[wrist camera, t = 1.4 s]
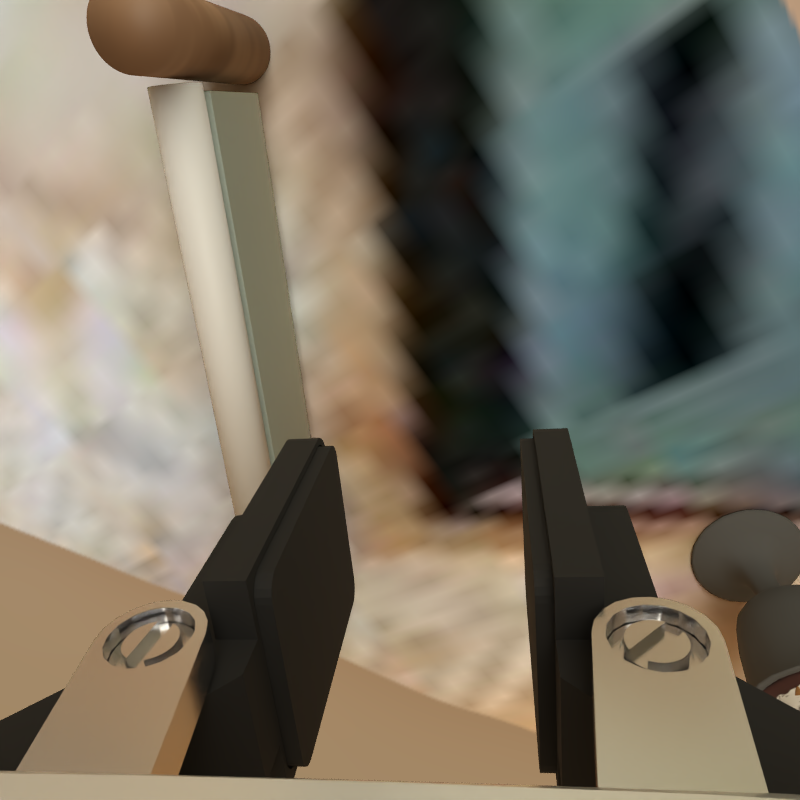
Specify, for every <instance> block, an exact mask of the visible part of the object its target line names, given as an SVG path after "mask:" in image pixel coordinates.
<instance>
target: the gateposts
mask: <svg viewBox="0 0 800 800" xmlns="http://www.w3.org/2000/svg"><path fill="white" fill-rule="evenodd" d="M87 27H88V32H89V35H90V39H91V41H92V43H93V45H94V47H95V49H96V51H97V52H98V54H99V55H100V56H101V58H102V59H103V60H104V61H105V62H106V63H107V64H108V65H110V66H111V67H112V68H114V69H116V70H117V71H119V72H122V73H124V74H128V75H135V76H147V77H158V78H170V79H182V80H193V81H205V82H216V83H228V84H240V85H243V84H249V83H252V82H254V81H256V80H257V79H259V78H260V77H261V76H262V75H263V73H264V72H265V70H266V69H267V66H268V63H269V60H270V45H269V41H268V37H267V35H266V33H265V31H264V30H263V28H262V27H261V26H260V25H259V24H258V23H257V22H256V21H255V20H254V19H252V18H250V17H248V16H245V15H243V14H240V13H237V12H235V11H232V10H229V9H227V8H224V7H221V6H219V5H216V4H213V3H211V2H208V1H205V0H89V3H88V8H87Z"/></svg>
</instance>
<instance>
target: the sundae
mask: <svg viewBox="0 0 800 800" xmlns="http://www.w3.org/2000/svg"><path fill="white" fill-rule="evenodd" d="M691 564H692V568H693V572H694V574H695V576H696V579H697V580H698V581H699V583H700V584H701V585H702V586H703V587H704V588H705V589H707V590H708V591H709V592H710V593H712V594H714V595H716V596H718V597H720V598H723V599H726V600H729V601H738V602H747V603H746V605H745V606H744V607H743V609H742V610H741V611H740V613H739V615H738V618H737V628H736V631H737V639H738V647H739V654H740V658H741V662H742V666H743V670H744V674H745V677H746V681H747V683H749V684H750V685H752V686H754V687H756V688H758V689H760V690H762V691H763V692H765V693H767V694H769V695H771V696H773V697H775V698H776V699H778V700H780V701H782V702H784V703H786V704H788V705H790V706H791V707H793V708H795V709H797V710H799V711H800V585H791V584H792V583H793V582H794V581H795V580H796V579H797V577H798V576H799V574H800V530H799V529H798V527H797V526H796V525H795V524H794V523H793V522H791V521H790V520H789V519H788V518H786V517H784V516H782V515H780V514H777V513H774V512H771V511H766V510H743V511H739V512H735V513H732V514H729V515H726V516H723V517H721V518H720V519H718V520H717V521H715V522H713V523H712V524H711V525H709V526H708V527H707V528H706V529H705V530H704V531H703V532H702V534H701V535H700V536H699V538H698V539H697V541H696V543H695V545H694V548H693V552H692V560H691Z"/></svg>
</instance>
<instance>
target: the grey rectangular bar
mask: <svg viewBox="0 0 800 800" xmlns="http://www.w3.org/2000/svg"><path fill="white" fill-rule="evenodd" d="M147 89H148V94H149V99H150V103H151V108H152V113H153V118H154V123H155V128H156V133H157V138H158V142H159V147H160V152H161V157H162V162H163V167H164V172H165V176H166V181H167V186H168V191H169V196H170V201H171V206H172V211H173V215H174V220H175V225H176V230H177V235H178V240H179V245H180V250H181V254H182V259H183V264H184V269H185V274H186V279H187V284H188V288H189V293H190V298H191V303H192V308H193V313H194V318H195V323H196V327H197V332H198V337H199V342H200V347H201V352H202V357H203V362H204V366H205V371H206V376H207V381H208V386H209V391H210V396H211V400H212V405H213V410H214V415H215V420H216V425H217V430H218V435H219V439H220V444H221V449H222V454H223V459H224V464H225V469H226V474H227V478H228V483H229V488H230V493H231V498H232V503H233V508H234V512H235V516H237V515H242V514H243V513H244V511H245V509H246V508H247V506H248V504H249V503H250V501H251V499H252V498H253V496H254V494H255V493H256V491H257V489H258V488H259V486H260V484H261V483H262V481H263V479H264V478H265V476H266V474H267V473H268V471H269V469H270V468H271V466H272V464H273V463H274V461H275V459H276V458H277V456H278V454H279V453H280V451H281V449H282V448H283V446H284V444H285V443H286V441H287V440H288V439H308V438H311V437H310V430H309V424H308V417H307V411H306V404H305V398H304V391H303V385H302V378H301V372H300V365H299V359H298V352H297V346H296V339H295V333H294V327H293V320H292V314H291V307H290V301H289V294H288V288H287V281H286V275H285V268H284V262H283V255H282V249H281V242H280V236H279V229H278V223H277V216H276V210H275V203H274V197H273V190H272V184H271V177H270V171H269V164H268V158H267V151H266V145H265V138H264V132H263V125H262V119H261V112H260V106H259V99H258V93H244V92H226V91H204V89H203V84H202V83H177V84H166V85H158V86H152V87H148V88H147Z"/></svg>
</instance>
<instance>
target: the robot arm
mask: <svg viewBox="0 0 800 800" xmlns="http://www.w3.org/2000/svg"><path fill="white" fill-rule="evenodd" d="M520 450H521V478H522V505H523V532H524V560H525V585H526V602H527V615H528V628H529V641H530V654H531V666H532V679H533V692H534V705H535V718H536V731H537V742H538V756H539V769H540V773H556V780H557V786H541V785H508V784H473V783H441V782H407V781H373V780H339V779H338V780H337V779H302V778H294V776H295V773H296V769H297V766H303V767H305V766H308V765H309V763H310V760H311V757H312V754H313V750H314V746H315V742H316V739H317V735H318V731H319V728H320V724H321V720H322V717H323V713H324V709H325V706H326V702H327V698H328V694H329V691H330V687H331V683H332V680H333V676H334V672H335V669H336V665H337V661H338V658H339V654H340V650H341V646H342V643H343V639H344V635H345V632H346V628H347V624H348V621H349V617H350V613H351V610H352V606H353V602H354V592H355V586H354V575H353V568H352V561H351V554H350V547H349V540H348V533H347V526H346V519H345V511H344V504H343V497H342V490H341V483H340V476H339V469H338V462H337V455H336V451H335V448H334V446H325V445H324V442H323V440H322V439H321V438H308V439H288V440H287V441H286V443H285V444H284V446H283V448H282V449H281V451H280V453H279V454H278V456H277V458H276V459H275V461H274V463H273V464H272V466H271V468H270V469H269V471H268V473H267V474H266V476H265V478H264V479H263V481H262V483H261V484H260V486H259V488H258V489H257V491H256V493H255V494H254V496H253V498H252V499H251V501H250V503H249V504H248V506H247V508H246V509H245V511H244V513H243V514H242V515H237V516H235V517H234V519H233V520H232V521H231V522H230V524H229V526H228V527H227V529H226V531H225V532H224V534H223V535H222V537H221V539H220V540H219V542H218V543H217V545H216V547H215V548H214V550H213V552H212V553H211V555H210V556H209V558H208V560H207V561H206V563H205V564H204V566H203V568H202V569H201V571H200V573H199V574H198V576H197V577H196V579H195V581H194V582H193V584H192V586H191V587H190V589H189V590H188V592H187V594H186V595H185V597H184V598H183V600H182V601H172V600H171V601H170V600H167V601H161V602H155V603H150V604H147V605H144V606H141V607H138V608H135V609H133V610H131V611H129V612H127V613H125V614H123V615H121V616H119V617H117V618H116V619H115V620H114V621H112V622H111V623H110V624H108V625H107V626H106V627H104V628H103V629H102V631H101V632H100V633H99V634H98V636H97V637H96V638H95V639H94V641H93V643H92V644H91V646H90V647H89V649H88V651H87V652H86V654H85V656H84V657H83V659H82V661H81V662H80V664H79V666H78V667H77V669H76V671H75V672H74V674H73V676H72V677H71V679H70V681H69V683H68V684H67V686H66V687H65V688H64V689H62V690H61V691H58V692H57V693H54V694H53V695H51V696H49V697H46V698H45V699H43V700H41V701H39V702H37V703H35V704H33V705H31V706H29V707H27V708H25V709H23V710H21V711H19V712H17V713H15V714H13V715H11V716H9V717H7V718H5V719H3V720H1V721H0V800H800V711H799V710H797V709H795V708H793V707H791V706H790V705H788V704H786V703H784V702H782V701H780V700H778V699H776V698H775V697H773V696H771V695H769V694H767V693H765V692H763V691H762V690H760V689H758V688H756V687H754V686H752V685H750V684H749V683H747V682H745V681H743V680H741V679H739V678H737V677H736V676H735V674H734V670H733V667H732V663H731V660H730V656H729V653H728V649H727V646H726V642H725V640H724V638H723V636H722V634H721V632H720V630H719V628H718V627H717V626H716V625H715V624H714V623H713V622H712V621H711V620H710V619H709V618H708V617H707V616H706V615H704V614H702V613H700V612H699V611H697V610H695V609H693V608H692V607H690V606H687V605H684V604H681V603H679V602H676V601H673V600H669V599H662V598H658V597H657V594H656V591H655V588H654V585H653V582H652V579H651V576H650V574H649V571H648V568H647V565H646V562H645V559H644V556H643V553H642V550H641V548H640V545H639V542H638V539H637V536H636V533H635V530H634V527H633V524H632V522H631V519H630V516H629V513H628V510H627V508H626V506H587V504H586V500H585V496H584V492H583V488H582V484H581V480H580V476H579V472H578V468H577V464H576V460H575V456H574V452H573V448H572V444H571V440H570V436H569V432H568V429H567V428H562V429H537V430H533V438H532V439H520Z"/></svg>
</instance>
